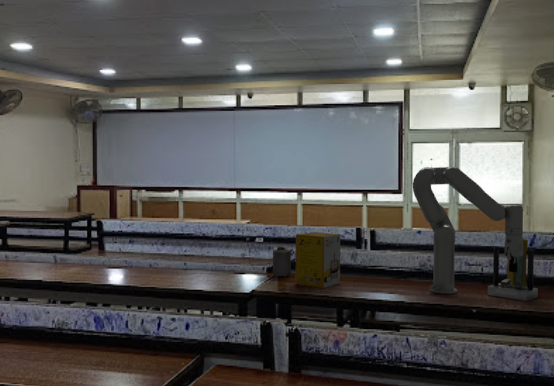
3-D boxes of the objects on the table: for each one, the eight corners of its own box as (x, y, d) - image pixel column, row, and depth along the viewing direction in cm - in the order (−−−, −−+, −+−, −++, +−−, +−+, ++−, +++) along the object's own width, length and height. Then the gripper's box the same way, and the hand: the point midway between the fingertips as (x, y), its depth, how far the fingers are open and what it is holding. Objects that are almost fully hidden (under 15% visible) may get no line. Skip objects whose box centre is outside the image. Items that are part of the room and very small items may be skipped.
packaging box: (312, 279, 308) (313, 232, 307) (339, 283, 299) (340, 234, 298) (295, 284, 295) (295, 234, 294) (323, 288, 286) (324, 236, 285)
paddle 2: (519, 285, 265) (520, 281, 266) (514, 284, 267) (514, 281, 267) (523, 286, 268) (524, 282, 269) (518, 285, 270) (518, 281, 270)
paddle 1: (506, 285, 270) (506, 282, 269) (501, 285, 272) (501, 281, 271) (510, 282, 273) (510, 279, 272) (505, 282, 274) (505, 278, 274)
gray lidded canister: (284, 273, 326) (284, 246, 326) (294, 276, 318) (294, 248, 318) (269, 275, 321) (269, 248, 321) (279, 278, 313) (278, 249, 313)
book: (526, 293, 277) (527, 240, 277) (511, 292, 279) (512, 239, 278) (519, 286, 294) (520, 236, 293) (505, 286, 295) (506, 236, 294)
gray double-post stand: (526, 301, 259) (527, 251, 259) (487, 294, 272) (487, 247, 272) (538, 297, 268) (539, 249, 267) (498, 291, 281) (499, 245, 280)
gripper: (514, 233, 261) (514, 274, 262) (528, 231, 272) (528, 271, 272) (498, 232, 267) (497, 272, 267) (512, 230, 277) (512, 269, 278)
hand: (513, 271), depth 270 cm, fingers closed
